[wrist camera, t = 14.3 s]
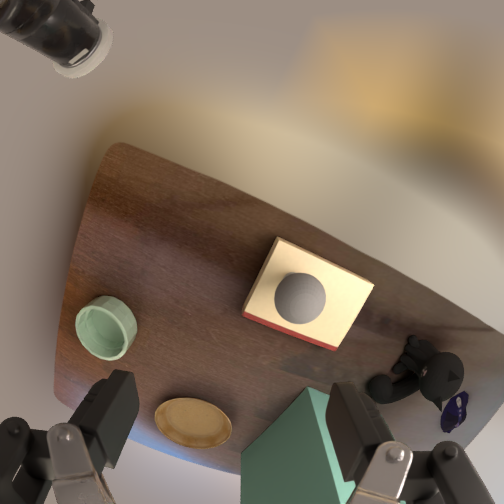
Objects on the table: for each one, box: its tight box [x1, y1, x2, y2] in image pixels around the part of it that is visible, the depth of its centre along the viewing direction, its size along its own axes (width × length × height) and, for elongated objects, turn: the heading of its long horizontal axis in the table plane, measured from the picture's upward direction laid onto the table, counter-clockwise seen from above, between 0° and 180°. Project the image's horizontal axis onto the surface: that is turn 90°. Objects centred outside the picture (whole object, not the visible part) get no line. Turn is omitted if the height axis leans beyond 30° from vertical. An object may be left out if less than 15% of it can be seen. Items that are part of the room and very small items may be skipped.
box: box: [240, 386, 406, 504], centre depth 38 cm, size 23×21×26 cm
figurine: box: [369, 335, 464, 412], centre depth 40 cm, size 16×14×15 cm
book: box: [242, 236, 374, 351], centre depth 42 cm, size 16×12×3 cm
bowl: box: [75, 296, 137, 361], centre depth 42 cm, size 10×10×5 cm
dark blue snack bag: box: [441, 391, 469, 433], centre depth 50 cm, size 9×15×4 cm, turn 13°
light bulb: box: [274, 272, 326, 324], centre depth 35 cm, size 6×6×10 cm
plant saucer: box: [155, 397, 232, 449], centre depth 47 cm, size 15×15×3 cm
